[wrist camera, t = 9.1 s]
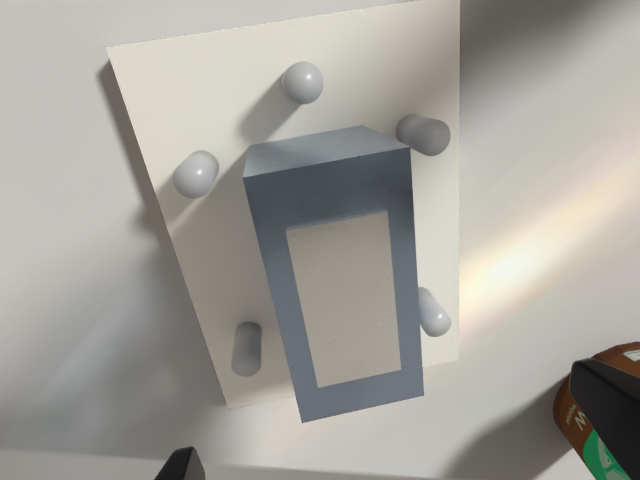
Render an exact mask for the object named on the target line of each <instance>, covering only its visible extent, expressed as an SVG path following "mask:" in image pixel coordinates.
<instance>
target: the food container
mask: <svg viewBox="0 0 640 480" xmlns="http://www.w3.org/2000/svg"><path fill="white" fill-rule="evenodd" d="M591 358H593V359H596V360H599V361H601V362H603V363H606V364H608V365H611V366H613V367H615V368H618V369H620V370H622V371H625V372H627V373H629V374H632V375H634V376H636V377H639V378H640V342H632V343H627V344H622V345H616V346H614V347H612V348H609V349H607V350H605V351H603V352H600V353H598V354H596V355H594V356H593V357H591ZM569 381H570V376H569V377H568V378H567V379H566V380H565V382H564V383H563V384H562V386H561V387H560V389H559V391H558V393H557V395H556V398H555V401H554V406H553V416H554V419H555V422H556V424H557V426H558V427H559V429H560V430H561V431H562V433H563V434H564V436H565V437H566V438H567V440H568V441H569V443H570V444H571V445H572V447H573V448H574V450H575V451H576V452H577V454H578V455H579V456H580V458H581V459H582V461H583V462H584V463H585V465H586V466H587V468H588V469H589V470H590V472H591V473H592V475H593V476H594V477H595V479H596V480H631V479H630V478H629V477H628V476H627V474H626V473H625V472H624V471H623V469H622V468H621V467H620V465H619V464H618V463H617V462H616V460H615V459H614V458H613V456H612V455H611V453H610V452H609V451H608V449H607V448H606V446H605V445H604V443H603V442H602V440H601V439H600V437H599V436H598V435H597V433H596V432H595V430H594V429H593V427H592V426H591V424H590V423H589V421H588V420H587V418H586V417H585V415H584V414H583V412H582V411H581V409H580V408H579V407H578V405H577V404H576V402H575V401H574V399H573V398H572V396H571V394H570V391H569Z"/></svg>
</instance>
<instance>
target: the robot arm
mask: <svg viewBox="0 0 640 480" xmlns="http://www.w3.org/2000/svg"><path fill="white" fill-rule="evenodd" d="M569 391H570V394H571V396H572V398H573V399H574V401H575V402H576V404H577V405H578V407H579V408H580V409H581V411H582V412H583V414H584V415H585V417H586V418H587V420H588V421H589V423H590V424H591V426H592V427H593V429H594V430H595V432H596V433H597V435H598V436H599V437H600V439H601V440H602V442H603V443H604V445H605V446H606V448H607V449H608V451H609V452H610V453H611V455H612V456H613V458H614V459H615V460H616V462H617V463H618V464H619V465H620V467H621V468H622V469H623V471H624V472H625V473H626V474H627V476H628V477H629V478H630V479H631V480H640V378H639V377H636V376H634V375H632V374H629V373H627V372H625V371H622V370H620V369H618V368H615V367H613V366H611V365H608V364H606V363H603V362H601V361H599V360H596V359H593V358H586V359H582V360H577V361H575V362H574V363H573V364H572V369H571V375H570V381H569ZM154 480H205V472H204V469H203V466H202V464H201V461H200V459H199V456H198V454H197V451H196V449H195V448H194V447H186V448H182V449H178V450H175V451H174V452H173V453H172V454H171V456H170V457H169V459H168V460H167V462H166V463H165V465H164V466H163V468H162V469H161V471H160V472H159V473H158V475H157V476H156V478H155V479H154Z"/></svg>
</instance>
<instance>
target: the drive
mask: <svg viewBox="0 0 640 480" xmlns="http://www.w3.org/2000/svg"><path fill="white" fill-rule="evenodd" d="M242 178H243V182H244V187H245V191H246V195H247V199H248V203H249V207H250V211H251V215H252V219H253V223H254V228H255V232H256V236H257V240H258V244H259V248H260V252H261V256H262V260H263V264H264V269H265V273H266V277H267V281H268V285H269V289H270V293H271V297H272V301H273V305H274V310H275V314H276V318H277V322H278V326H279V330H280V334H281V338H282V342H283V346H284V351H285V355H286V359H287V363H288V367H289V371H290V375H291V379H292V383H293V387H294V392H295V396H296V400H297V404H298V408H299V412H300V416H301V420H302V423H304V422H309V421H313V420H317V419H322V418H326V417H331V416H335V415H340V414H344V413H348V412H353V411H357V410H362V409H366V408H370V407H375V406H379V405H384V404H388V403H393V402H397V401H401V400H406V399H410V398H415V397H419V396H423V395H424V387H423V369H422V350H421V332H420V314H419V296H418V278H417V260H416V242H415V223H414V205H413V187H412V169H411V151H410V146H408V145H405V144H403V143H401V142H399V141H397V140H394V139H392V138H390V137H388V136H385V135H383V134H381V133H379V132H377V131H374V130H372V129H370V128H368V127H365V126H363V125H360V126H355V127H349V128H343V129H338V130H332V131H327V132H321V133H316V134H310V135H304V136H299V137H293V138H288V139H282V140H276V141H271V142H265V143H260V144H254V145H250V148H249V152H248V156H247V160H246V165H245V169H244V173H243V177H242Z"/></svg>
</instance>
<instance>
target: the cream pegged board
mask: <svg viewBox="0 0 640 480" xmlns="http://www.w3.org/2000/svg"><path fill="white" fill-rule="evenodd" d="M106 49H107V52H108V55H109V58H110V61H111V64H112V67H113V70H114V73H115V76H116V79H117V82H118V85H119V88H120V91H121V94H122V97H123V100H124V103H125V105H126V108H127V111H128V114H129V117H130V120H131V123H132V126H133V129H134V132H135V135H136V138H137V141H138V144H139V147H140V150H141V153H142V156H143V159H144V162H145V165H146V168H147V171H148V173H149V176H150V179H151V182H152V185H153V188H154V191H155V194H156V197H157V200H158V203H159V206H160V209H161V212H162V215H163V218H164V221H165V224H166V227H167V230H168V233H169V236H170V238H171V241H172V244H173V247H174V250H175V253H176V256H177V259H178V262H179V265H180V268H181V271H182V274H183V277H184V280H185V283H186V286H187V289H188V292H189V295H190V298H191V301H192V304H193V306H194V309H195V312H196V315H197V318H198V321H199V324H200V327H201V330H202V333H203V336H204V339H205V342H206V345H207V348H208V351H209V354H210V357H211V360H212V363H213V366H214V369H215V371H216V374H217V377H218V380H219V383H220V386H221V389H222V392H223V395H224V398H225V401H226V404H227V407H228V410H229V409H233V408H238V407H243V406H247V405H252V404H257V403H261V402H266V401H271V400H275V399H280V398H284V397H289V396H294V395H295V392H294V387H293V383H292V379H291V375H290V371H289V367H288V363H287V359H286V355H285V351H284V346H283V342H282V338H281V334H280V330H279V326H278V322H277V318H276V314H275V310H274V305H273V301H272V297H271V293H270V289H269V285H268V281H267V277H266V273H265V269H264V264H263V260H262V256H261V252H260V248H259V244H258V240H257V236H256V232H255V228H254V223H253V219H252V215H251V211H250V207H249V203H248V199H247V195H246V191H245V187H244V182H243V178H242V177H243V173H244V169H245V165H246V160H247V156H248V152H249V148H250V145H254V144H260V143H265V142H271V141H276V140H282V139H288V138H293V137H299V136H304V135H310V134H316V133H321V132H327V131H332V130H338V129H343V128H349V127H355V126H360V125H363V126H365V127H368V128H370V129H372V130H374V131H377V132H379V133H381V134H383V135H385V136H388V137H390V138H392V139H394V140H397V141H399V142H401V143H403V144H405V145H408V146H410V151H411V169H412V187H413V205H414V223H415V242H416V260H417V278H418V296H419V314H420V332H421V350H422V368H424V367H428V366H433V365H438V364H442V363H447V362H452V361H456V360H458V325H459V128H460V0H416V1H410V2H403V3H397V4H390V5H383V6H377V7H370V8H363V9H357V10H350V11H343V12H337V13H330V14H324V15H317V16H310V17H304V18H297V19H290V20H284V21H277V22H270V23H264V24H257V25H250V26H244V27H237V28H231V29H224V30H217V31H211V32H204V33H197V34H191V35H184V36H177V37H171V38H164V39H158V40H151V41H144V42H138V43H131V44H124V45H118V46H111V47H106Z"/></svg>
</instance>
